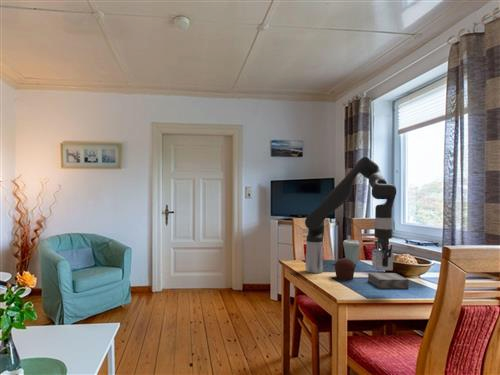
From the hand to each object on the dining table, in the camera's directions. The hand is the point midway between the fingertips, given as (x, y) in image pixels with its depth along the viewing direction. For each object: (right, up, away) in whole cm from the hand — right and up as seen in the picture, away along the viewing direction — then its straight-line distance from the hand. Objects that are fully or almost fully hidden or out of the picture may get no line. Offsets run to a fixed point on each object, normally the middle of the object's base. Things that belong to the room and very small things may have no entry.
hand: (382, 265), depth 157 cm
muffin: (-10, -13, +27) cm, 32 cm away
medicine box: (0, -2, 0) cm, 2 cm away
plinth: (+8, -13, +14) cm, 20 cm away
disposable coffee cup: (+5, -14, +66) cm, 68 cm away
